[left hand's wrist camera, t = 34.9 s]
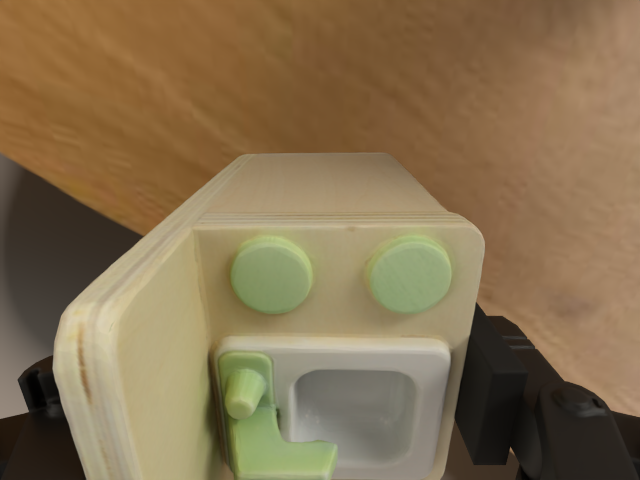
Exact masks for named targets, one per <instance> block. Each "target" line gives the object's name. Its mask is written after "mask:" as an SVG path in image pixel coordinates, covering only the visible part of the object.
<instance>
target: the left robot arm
mask: <svg viewBox="0 0 640 480" xmlns="http://www.w3.org/2000/svg"><path fill="white" fill-rule="evenodd" d="M53 356H54V355H52V356H49V357H47V358H45V359H43V360H41V361H39V362H36V363H35V364H34V365H32V366H31V367H29V368H28V369H27V370H25V371H24V372H23V374H22V375H21V376H20V377H19V378H18V382H19V385H20V388H21V390H22V393H23V396H24V399H25V402H26V404H27V407H28V410H29V412H28V413H24V414H20V415H16V416H11V417H7V418H3V419H0V480H86V476H85V473H84V470H83V466H82V464H81V461H80V458H79V455H78V452H77V449H76V446H75V443H74V440H73V437H72V433H71V430H70V426H69V423H68V421H67V418H66V415H65V413H64V410H63V407H62V404H61V399H60V394H59V390H58V387H57V384H56V382H55V377H54V373H53ZM454 418H455V421H456V423H457V425H458V428H459V430H460V433H461V435H462V437H463V440H464V442H465V445H466V447H467V450H468V452H469V454H470V457H471V459H472V462H473V464H474V465H506V462H507V458H508V454H509V450H510V446H511V448H512V450H513V452H514V454H515V456H516V457H517V459H518V461H519V463H520V464H519V468H518V471H517V475H516V479H515V480H640V417H636V416H631V415H627V414H623V413H618V412H614V411H611V410H610V409H609V407H608V406H607V404H606V403H605V402H604V401H603V400H602V399H601V398H599V397H598V396H597V395H596V394H595V393H593V392H591V391H589V390H588V389H586V388H584V387H582V386H579V385H576V384H573V383H570V382H566V381H564V380H563V379H562V378H561V377H560V375H559V374H558V373H557V372H556V371H555V370H554V368H553V367H552V366H551V365H550V364H549V363H548V361H547V360H546V359H545V358H544V357H543V355H542V354H541V353H540V352H539V351H538V350H537V349H535V346H534V345H533V344H532V343H531V341H530V340H529V339H527V337H526V335H525V334H524V333H523V332H522V331H521V330H520V328H519V327H518V326H517V325H515V324H514V323H512V322H511V321H509V320H508V319H506V318H504V317H503V316H486V314H485V313H484V312H483V310H482V309H481V308H480V306H479V305H478V304H477V302H476V304H475V311H474V316H473V321H472V326H471V331H470V336H469V341H468V346H467V352H466V357H465V362H464V368H463V374H462V378H461V382H460V388H459V395H458V400H457V406H456V411H455V417H454Z"/></svg>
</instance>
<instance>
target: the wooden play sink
mask: <svg viewBox="0 0 640 480" xmlns="http://www.w3.org/2000/svg"><path fill="white" fill-rule="evenodd" d="M484 253H485V241H484V238H483V236H482V233H481V232H480V230H479V229H478V228H477V227H476V226H475V225H473V224H472V223H471V222H470V221H468V220H467V219H466V218H464V217H462V216H460V215H459V214H456V213H452V212H448V211H447V210H446V209H445V208H443V207H442V206H441V205H440V204H439V202H438V201H437V200H436V199H435V198H434V197H432V196H431V195H430V194H429V193H428V192H427V191H426V189H425V188H424V187H423V186H422V185H421V184H420V183H419V182H418V181H417V180H416V179H415V178H414V177H413V176H412V175H411V174H410V173H409V172H408V171H407V170H406V169H405V168H404V167H403V166H402V165H401V164H400V163H399V162H398V161H397V160H396V159H395V158H394V157H393V156H392V155H390V154H388V153H268V154H244V155H242V156H239V157H238V158H237V159H235V160H234V161H233V162H232V163H231V164H229V165H228V166H227V167H226V168H224V169H223V170H222V171H221V172H220V173H218V174H217V175H216V176H215V177H214V178H212V179H211V180H210V181H209V182H208V183H206V184H205V185H204V186H203V187H202V188H201V189H199V190H198V191H197V192H196V193H195V194H193V195H192V196H191V197H190V198H189V199H188V200H186V201H185V202H184V203H183V204H182V205H181V206H179V207H178V208H177V209H176V210H175V211H174V212H172V213H171V214H170V215H169V216H168V217H167V218H166V219H165V220H163V221H162V222H161V223H160V224H158V225H157V226H156V227H155V228H154V229H153V230H152V231H150V232H149V233H148V234H147V235H146V236H145V237H143V238H142V239H141V240H140V241H139V242H138V243H137V244H135V245H134V246H133V247H132V248H131V249H130V250H129V251H128V252H127V253H125V254H124V255H123V256H121V257H120V258H119V259H118V260H117V261H116V262H115V263H114V264H112V265H111V266H110V267H109V268H108V269H107V270H106V271H105V272H104V273H102V274H101V275H100V276H99V277H98V278H97V279H95V280H94V281H93V282H92V283H91V284H90V285H89V286H88V287H87V288H86V289H85V290H84V291H83V292H82V293H81V294H80V295H79V296H78V297H77V298H76V299H75V300H74V301H73V302H71V303H70V304H69V305H68V307H67V308H66V310H65V311H64V313H63V314H62V316H61V319H60V323H59V327H58V331H57V334H56V338H55V342H54V356H53V373H54V377H55V382H56V384H57V387H58V390H59V394H60V399H61V404H62V407H63V410H64V413H65V415H66V418H67V421H68V423H69V426H70V430H71V433H72V437H73V440H74V443H75V446H76V449H77V452H78V455H79V458H80V461H81V464H82V466H83V470H84V473H85V476H86V480H440V479H441V477H442V476H443V473H444V470H445V466H446V461H447V455H448V450H449V444H450V439H451V433H452V428H453V423H454V417H455V411H456V406H457V400H458V395H459V388H460V382H461V378H462V374H463V368H464V362H465V357H466V352H467V346H468V341H469V336H470V331H471V326H472V321H473V316H474V311H475V304H476V299H477V294H478V289H479V284H480V278H481V272H482V265H483V259H484Z"/></svg>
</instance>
